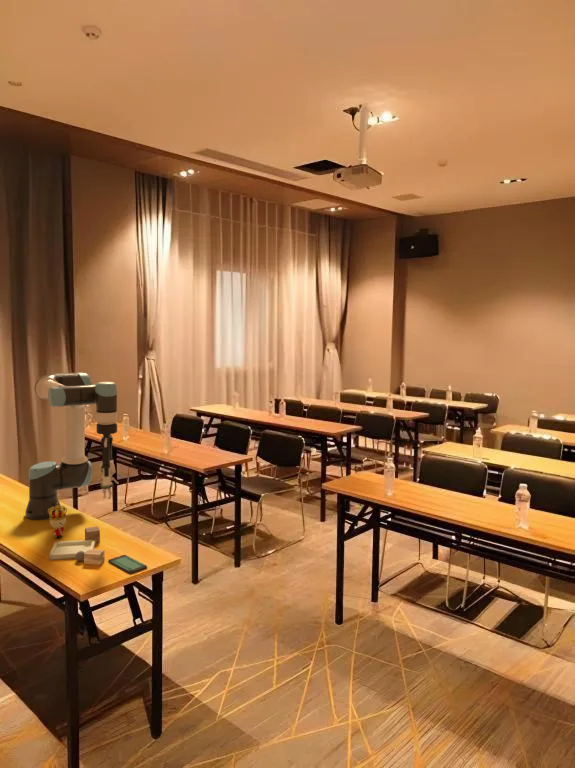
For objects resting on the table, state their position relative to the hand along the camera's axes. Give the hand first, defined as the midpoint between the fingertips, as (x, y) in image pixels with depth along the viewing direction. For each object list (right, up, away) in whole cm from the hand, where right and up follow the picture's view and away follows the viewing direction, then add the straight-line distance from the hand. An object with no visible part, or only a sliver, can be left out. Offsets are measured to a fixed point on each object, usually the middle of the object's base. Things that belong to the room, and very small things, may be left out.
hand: (107, 481), depth 220 cm
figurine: (0, -7, +1) cm, 7 cm away
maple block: (-2, -28, -10) cm, 30 cm away
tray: (-13, -27, -1) cm, 30 cm away
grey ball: (-7, -28, -9) cm, 30 cm away
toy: (-24, -25, +13) cm, 37 cm away
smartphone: (+11, -29, -12) cm, 33 cm away
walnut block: (-9, -26, +10) cm, 29 cm away
